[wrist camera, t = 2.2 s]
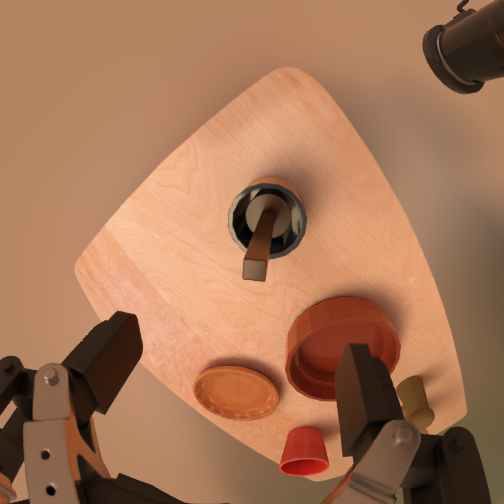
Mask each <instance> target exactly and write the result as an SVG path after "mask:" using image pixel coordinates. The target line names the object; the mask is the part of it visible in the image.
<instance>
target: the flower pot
mask: <svg viewBox="0 0 504 504" xmlns="http://www.w3.org/2000/svg"><path fill="white" fill-rule="evenodd" d="M328 467H329V461H328V456H327V452H326V448H325V444H324V441H323V437H322V434H321V432H320V430H318V429H316V428H311V427H301V428H297V429H294V430H292V431H291V432H290V433H289V434H288V437H287V441H286V444H285V448H284V451H283V455H282V458H281V462H280V466H279V469H280V470H281V471H282V472H283V473H285V474H289V475H295V476H307V475H314V474H318V473H321V472H323V471H325V470H326V469H327V468H328Z"/></svg>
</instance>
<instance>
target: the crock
mask: <svg viewBox="0 0 504 504" xmlns="http://www.w3.org/2000/svg"><path fill="white" fill-rule="evenodd" d="M266 188H271V189H278V190H280V191H282V192H283V193H284V194H285V195H286V196H287V197H288V199H289V201H290V205H291V214H292V219H291V224H290V226H289V228H288V229H287V231H286V232H285V233H284V234H282V235H281V236H279V237H276V238H272V242H271V249H270V255H269V259H275V258H278V257H282V256H285V255H287V254H288V253H290V252H291V251H292V250H294V249H295V248H296V247H297V246H298V245H299V243H300V242H301V240H302V238H303V237H304V235H305V231H306V223H307V217H306V213H305V210H304V207H303V203H302V201H301V198H300V195H299V193H298V191H297V190H296V189H295V188H294V187H293V185H292V184H291V183H289V182H287V181H286V180H284V179H282V178H279V177H263V178H260V179H257V180H255V181H254V182H252V183H251V184H250V185H249V186H248V187H246V188H245V189H244V190H243V191H242V192H241V193H240V194H239V195H238V196H236V198H235V199H234V201H233V203H232V205H231V207H230V210H229V215H228V227H229V230H230V233H231V235H232V238H233V240H234V242H235V243H236V244H237V245H238V246H239V247H240V248H241V249H242V250H243V251H244V252H247V249H248V246H249V244H250V241H251V239H252V236H253V232H252V231H251V230H250V228H249V227H248V225H247V222H246V209H247V207H248V205H249V203H250V202H251V200H252V199H253V198H254V196H255V195H256V194H257V193H258V192H259V191H261V190H263V189H266Z"/></svg>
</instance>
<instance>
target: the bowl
mask: <svg viewBox="0 0 504 504" xmlns="http://www.w3.org/2000/svg"><path fill="white" fill-rule="evenodd" d="M348 342H351V343H367V344H368V346H369V349H370V352H371V355H372V356H378V357H379V358H380V359H381V360H382V361H383V362H384V363H385V365H386V366H387V368H388V371H389V374H391V373H392V372H393V371H394V369H395V367H396V365H397V363H398V361H399V358H400V349H401V345H400V342H399V339H398V336H397V334H396V332H395V330H394V328H393V326H392V324H391V322H390V320H389V318H388V316H387V314H386V313H385V312H384V311H383V310H382V309H381V308H380V307H379V306H378V305H377V304H376V303H374V302H371V301H369V300H366V299H364V298H359V297H339V298H334V299H329V300H325V301H323V302H321V303H319V304H317V305H315V306H313V307H311V308H309V309H308V310H307V311H306V312H304V313H303V314H302V315H301V316H300V317H299V318H298V319H296V321H295V322H294V324H293V326H292V327H291V329H290V331H289V332H288V336H287V342H286V357H285V371H286V375H287V378H288V381H289V383H290V384H291V385H292V386H293V387H294V389H295V390H296V391H297V392H299V393H301V394H303V395H304V396H306V397H308V398H311V399H315V400H319V401H336V394H335V387H334V380H335V373H336V370H337V367H338V364H339V362H340V359H341V356H342V353H343V350H344V347H345V345H346V343H348Z"/></svg>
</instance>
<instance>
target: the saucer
mask: <svg viewBox="0 0 504 504" xmlns="http://www.w3.org/2000/svg"><path fill="white" fill-rule="evenodd" d="M193 393H194V396H195V398H196V400H197V401H198V402H199V403H200V404H201V405H202V406H203V407H204V408H205V409H206V410H208V411H210V412H211V413H213V414H215V415H217V416H220V417H223V418H226V419H231V420H237V421H251V420H257V419H261V418H264V417H266V416H268V415H270V414H271V413H273V412H274V411H275V410H276V408H277V407H278V404H279V393H278V390H277V388H276V386H275V385H274V384H273V383H272V382H271V381H270V380H269V379H268V378H266V377H265V376H263V375H262V374H260V373H258V372H256V371H254V370H251V369H248V368H244V367H239V366H219V367H214V368H210V369H208V370H206V371H204V372H202V373H201V374H200V375H199V376H198V377H197V379H196V380H195V382H194V385H193Z"/></svg>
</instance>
